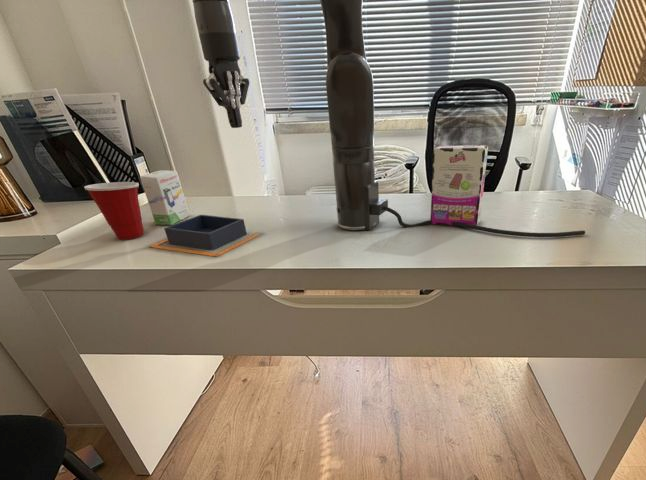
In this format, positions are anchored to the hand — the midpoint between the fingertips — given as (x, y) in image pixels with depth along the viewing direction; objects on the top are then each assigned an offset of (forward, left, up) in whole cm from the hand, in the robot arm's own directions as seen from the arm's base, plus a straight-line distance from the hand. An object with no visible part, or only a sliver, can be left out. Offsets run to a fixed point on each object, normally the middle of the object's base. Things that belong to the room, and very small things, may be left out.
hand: (236, 127), depth 90 cm
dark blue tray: (0, +17, -21) cm, 27 cm away
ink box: (+21, +8, -21) cm, 31 cm away
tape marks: (0, +18, -21) cm, 28 cm away
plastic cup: (+21, +21, -21) cm, 36 cm away
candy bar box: (-51, -10, -21) cm, 56 cm away
